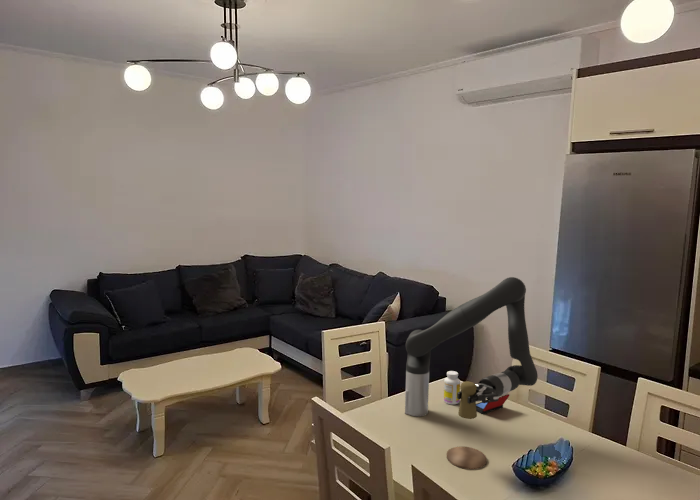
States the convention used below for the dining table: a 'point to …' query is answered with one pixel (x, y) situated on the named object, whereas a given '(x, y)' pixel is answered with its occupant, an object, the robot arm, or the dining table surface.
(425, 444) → the dining table surface
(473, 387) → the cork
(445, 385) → the supplement bottle
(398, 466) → the dining table surface
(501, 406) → the handheld game console
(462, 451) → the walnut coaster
